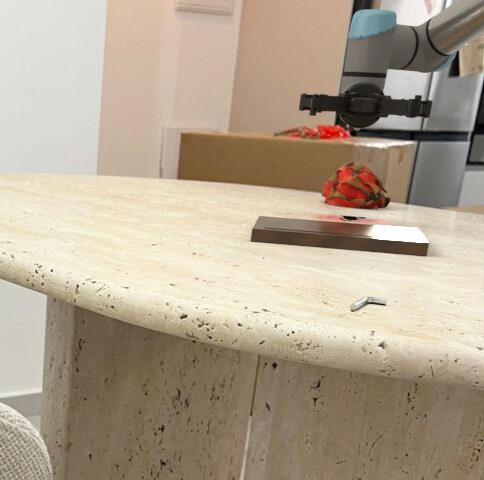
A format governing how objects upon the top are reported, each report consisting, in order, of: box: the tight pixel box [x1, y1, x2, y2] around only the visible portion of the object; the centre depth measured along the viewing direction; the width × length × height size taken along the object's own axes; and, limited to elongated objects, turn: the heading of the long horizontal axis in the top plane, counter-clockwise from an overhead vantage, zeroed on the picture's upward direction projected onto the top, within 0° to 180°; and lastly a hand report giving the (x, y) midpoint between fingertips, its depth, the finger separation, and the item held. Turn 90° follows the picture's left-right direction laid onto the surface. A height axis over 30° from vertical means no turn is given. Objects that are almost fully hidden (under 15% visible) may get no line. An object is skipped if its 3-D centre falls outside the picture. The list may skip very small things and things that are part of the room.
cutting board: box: [250, 215, 430, 257], centre depth 117 cm, size 20×14×2 cm
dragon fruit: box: [320, 162, 391, 221], centre depth 140 cm, size 8×8×12 cm
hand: (366, 105), depth 144 cm, fingers open, 13 cm apart
